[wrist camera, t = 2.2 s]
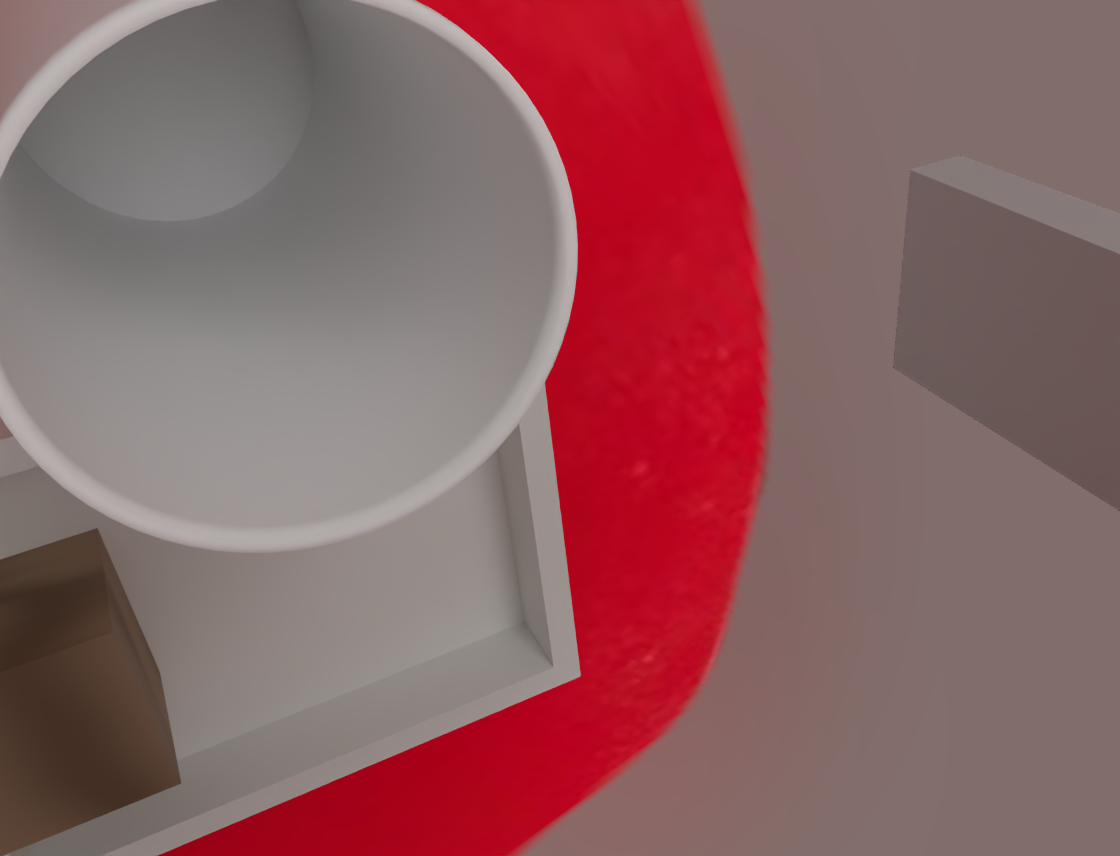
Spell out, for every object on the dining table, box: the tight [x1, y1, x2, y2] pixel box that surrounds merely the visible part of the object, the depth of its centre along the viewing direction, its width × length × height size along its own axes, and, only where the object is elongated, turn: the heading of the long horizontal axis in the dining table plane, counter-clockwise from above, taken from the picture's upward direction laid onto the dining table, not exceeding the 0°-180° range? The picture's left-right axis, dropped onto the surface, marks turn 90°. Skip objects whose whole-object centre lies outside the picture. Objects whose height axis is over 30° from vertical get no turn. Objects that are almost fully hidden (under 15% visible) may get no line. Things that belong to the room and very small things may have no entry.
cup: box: [0, 0, 578, 553], centre depth 20 cm, size 8×8×16 cm
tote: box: [0, 383, 581, 856], centre depth 33 cm, size 20×16×4 cm
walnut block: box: [0, 528, 181, 856], centre depth 30 cm, size 5×6×5 cm
